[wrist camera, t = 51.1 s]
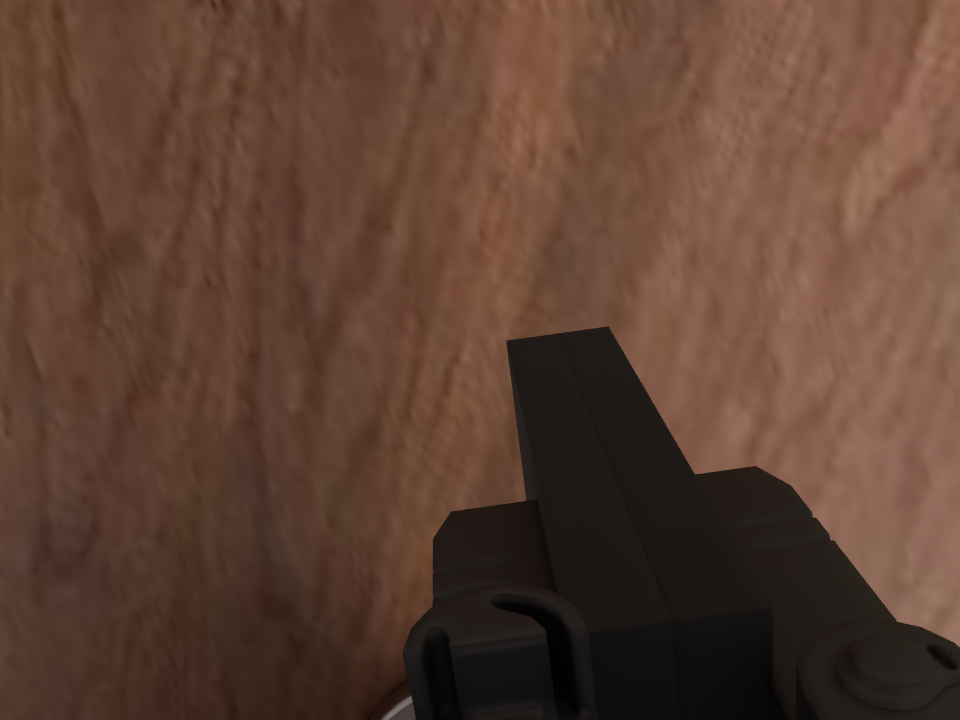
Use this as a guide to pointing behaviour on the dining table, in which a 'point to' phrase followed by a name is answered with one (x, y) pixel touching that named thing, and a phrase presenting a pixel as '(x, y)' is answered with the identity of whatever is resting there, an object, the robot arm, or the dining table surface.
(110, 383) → the dining table surface
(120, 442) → the dining table surface
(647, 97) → the dining table surface
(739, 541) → the robot arm
